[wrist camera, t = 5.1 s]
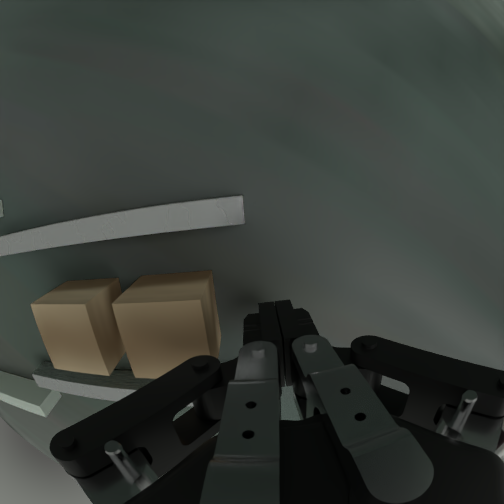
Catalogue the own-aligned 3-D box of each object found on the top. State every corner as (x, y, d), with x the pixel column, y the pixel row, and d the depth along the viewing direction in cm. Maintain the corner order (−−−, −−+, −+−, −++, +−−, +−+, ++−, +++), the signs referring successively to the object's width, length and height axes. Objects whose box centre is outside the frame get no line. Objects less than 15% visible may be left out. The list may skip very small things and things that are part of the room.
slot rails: (6, 234, 14) (-12, 240, 12) (242, 194, 14) (242, 196, 12) (49, 373, 16) (38, 386, 14) (261, 382, 16) (262, 403, 14)
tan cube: (141, 275, 15) (111, 303, 11) (211, 269, 15) (200, 299, 11) (156, 337, 16) (135, 377, 12) (221, 335, 16) (215, 378, 12)
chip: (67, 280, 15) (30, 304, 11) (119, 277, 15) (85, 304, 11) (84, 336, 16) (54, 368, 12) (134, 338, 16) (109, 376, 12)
